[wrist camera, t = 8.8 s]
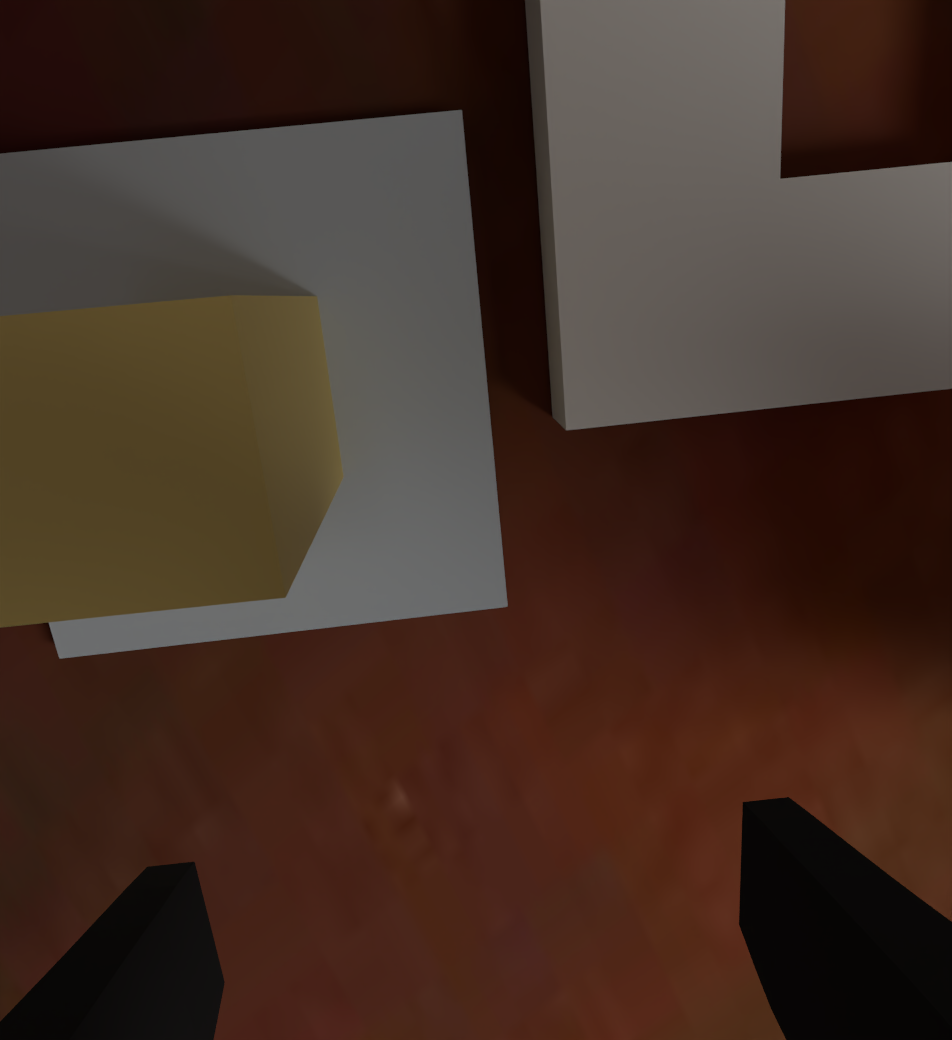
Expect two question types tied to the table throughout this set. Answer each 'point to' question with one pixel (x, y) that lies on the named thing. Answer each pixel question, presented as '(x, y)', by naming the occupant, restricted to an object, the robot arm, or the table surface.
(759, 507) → the table surface
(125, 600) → the block
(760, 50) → the pocket holder
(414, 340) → the mat
